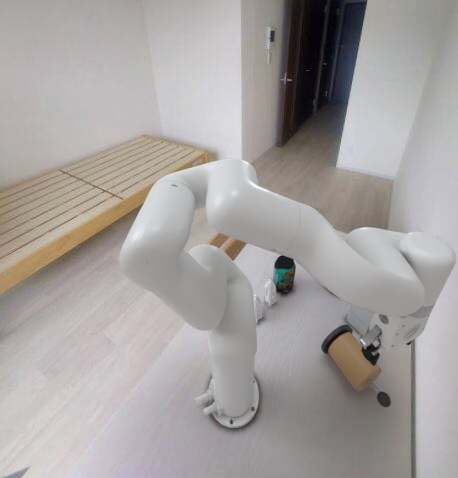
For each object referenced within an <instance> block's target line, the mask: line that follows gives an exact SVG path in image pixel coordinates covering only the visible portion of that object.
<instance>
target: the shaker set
mask: <svg viewBox="0 0 458 478" xmlns="http://www.w3.org/2000/svg"><path fill="white" fill-rule="evenodd" d="M253 299H254V311H255V321H256V324H258V322H259V321H260V320H262V319H263V317H264V304H263V301H262V298H261V297H260V296H259V295H258V294H253ZM277 300H278V297H277V291H276V286H275V284H274V282H273V278H268V279H267V280H266V282H265V285H264V301H265V302H266V303H267V306H268V307H269V308H271V307H272V305H274V304H275V303H277Z"/></svg>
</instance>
